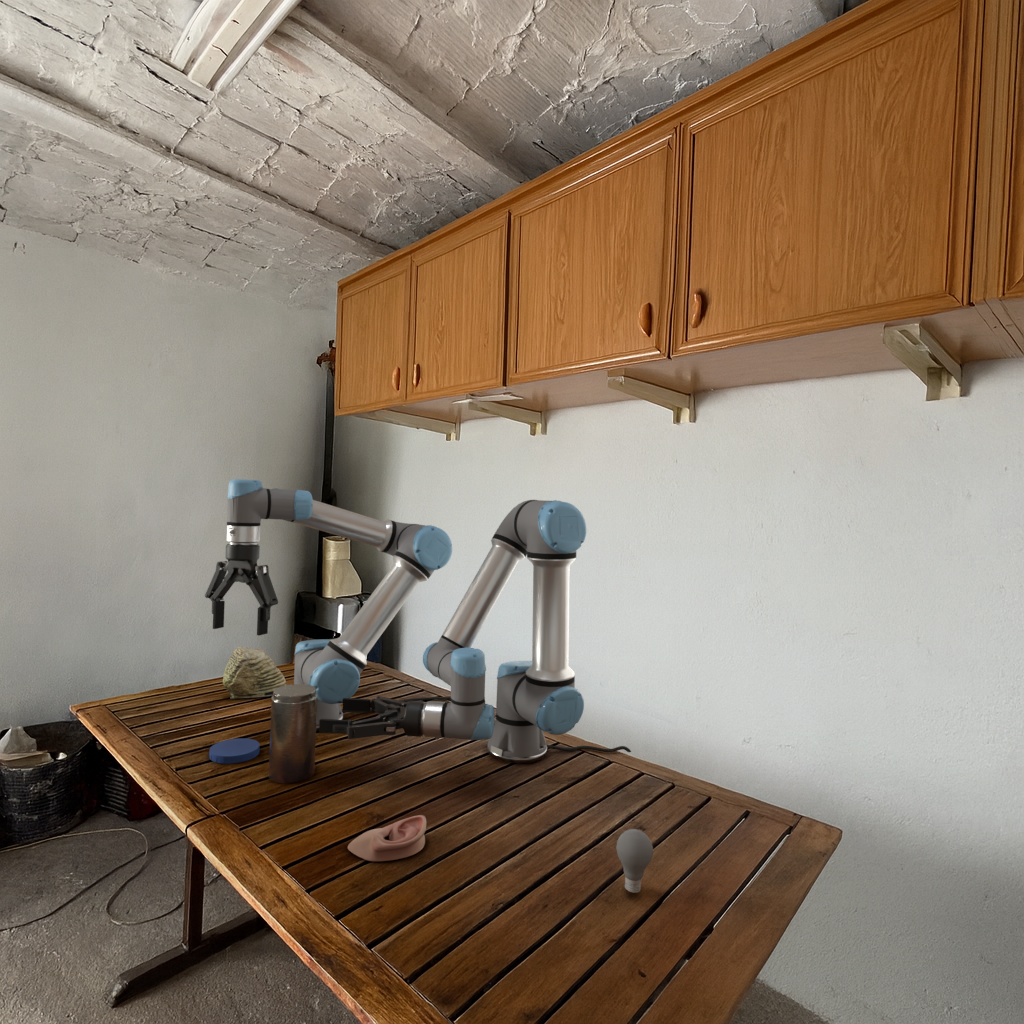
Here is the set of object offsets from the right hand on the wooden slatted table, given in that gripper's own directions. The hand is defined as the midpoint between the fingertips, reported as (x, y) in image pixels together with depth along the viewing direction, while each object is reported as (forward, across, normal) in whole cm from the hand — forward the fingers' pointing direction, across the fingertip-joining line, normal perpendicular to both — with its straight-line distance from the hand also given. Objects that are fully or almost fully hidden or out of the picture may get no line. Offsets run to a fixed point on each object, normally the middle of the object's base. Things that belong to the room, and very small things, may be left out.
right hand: (331, 714), depth 143 cm
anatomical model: (-21, -25, -14) cm, 36 cm away
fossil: (+45, +51, -14) cm, 69 cm away
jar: (+9, 0, -14) cm, 17 cm away
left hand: (+26, +8, +16) cm, 32 cm away
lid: (+27, +8, -12) cm, 31 cm away
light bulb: (-64, -31, -16) cm, 73 cm away
